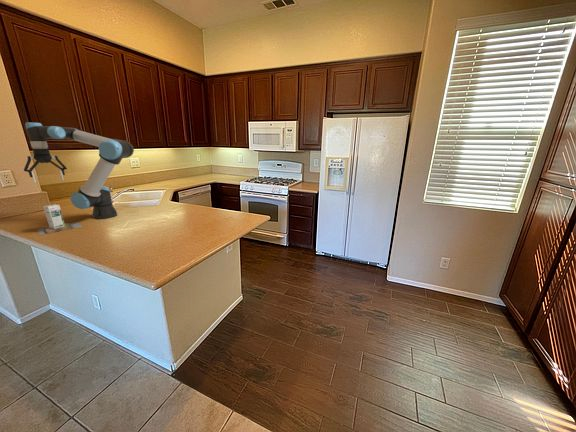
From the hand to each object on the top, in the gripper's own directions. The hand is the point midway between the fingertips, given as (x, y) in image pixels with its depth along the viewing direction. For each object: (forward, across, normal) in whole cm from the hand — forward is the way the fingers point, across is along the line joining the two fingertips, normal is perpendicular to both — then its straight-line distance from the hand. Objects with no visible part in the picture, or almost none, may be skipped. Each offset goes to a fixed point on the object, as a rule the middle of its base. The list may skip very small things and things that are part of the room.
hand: (49, 181), depth 159 cm
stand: (+28, +4, +20) cm, 35 cm away
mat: (+29, +3, +18) cm, 34 cm away
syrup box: (+27, +4, +20) cm, 34 cm away
